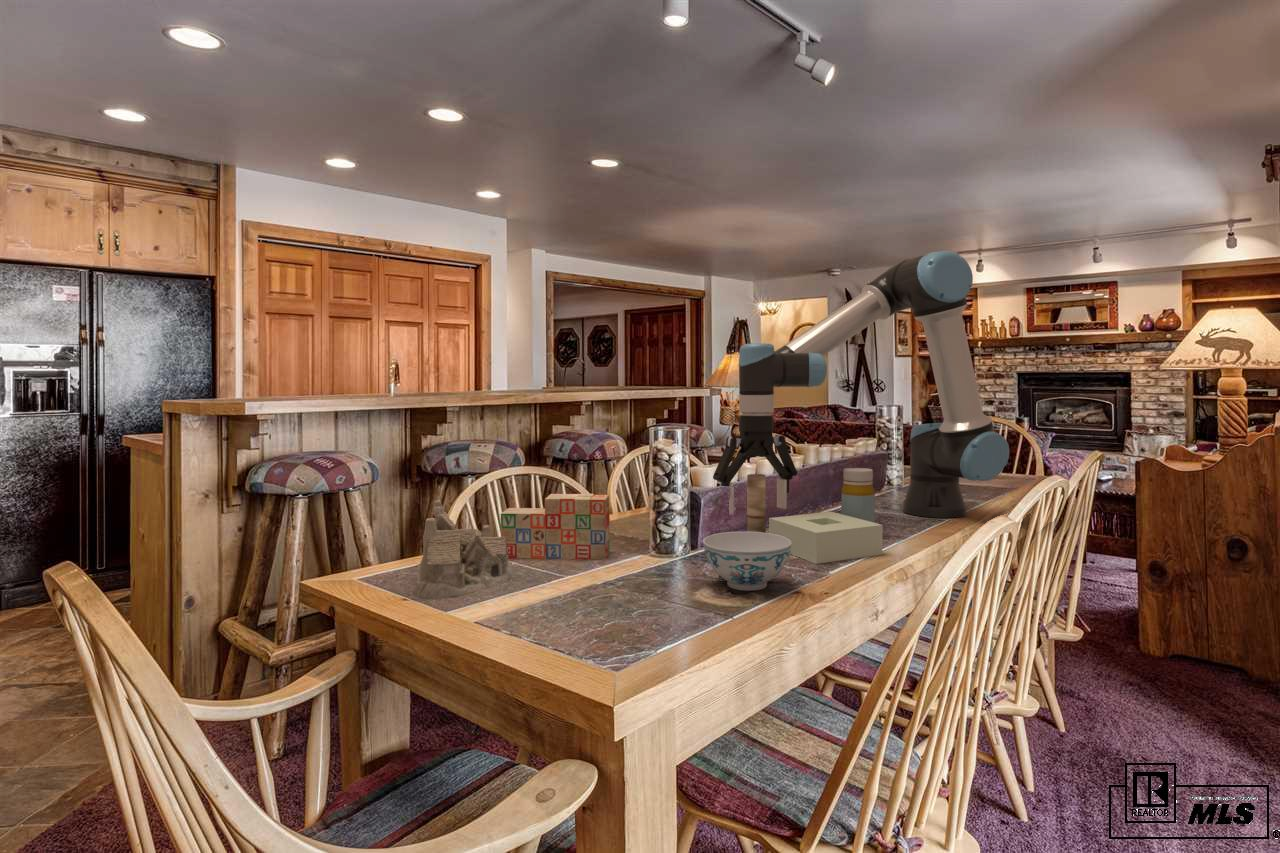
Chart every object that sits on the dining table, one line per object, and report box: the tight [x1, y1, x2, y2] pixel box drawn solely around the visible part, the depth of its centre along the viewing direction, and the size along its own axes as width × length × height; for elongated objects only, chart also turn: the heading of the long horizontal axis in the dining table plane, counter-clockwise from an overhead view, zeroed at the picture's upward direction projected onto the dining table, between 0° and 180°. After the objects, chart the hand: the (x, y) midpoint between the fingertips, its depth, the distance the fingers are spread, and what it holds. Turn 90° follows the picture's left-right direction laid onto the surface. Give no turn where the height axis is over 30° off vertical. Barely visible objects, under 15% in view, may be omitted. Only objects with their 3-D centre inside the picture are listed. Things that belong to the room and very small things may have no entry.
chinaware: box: [702, 531, 792, 592], centre depth 123 cm, size 15×15×8 cm
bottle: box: [840, 467, 876, 523], centre depth 158 cm, size 7×7×15 cm
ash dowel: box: [746, 473, 767, 533], centre depth 159 cm, size 4×4×14 cm
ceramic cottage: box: [414, 499, 510, 599], centre depth 127 cm, size 16×16×15 cm
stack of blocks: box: [500, 493, 611, 560], centre depth 146 cm, size 21×6×12 cm, turn 85°
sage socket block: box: [768, 511, 884, 565], centre depth 147 cm, size 16×16×6 cm
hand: (755, 510), depth 159 cm, fingers open, 13 cm apart
